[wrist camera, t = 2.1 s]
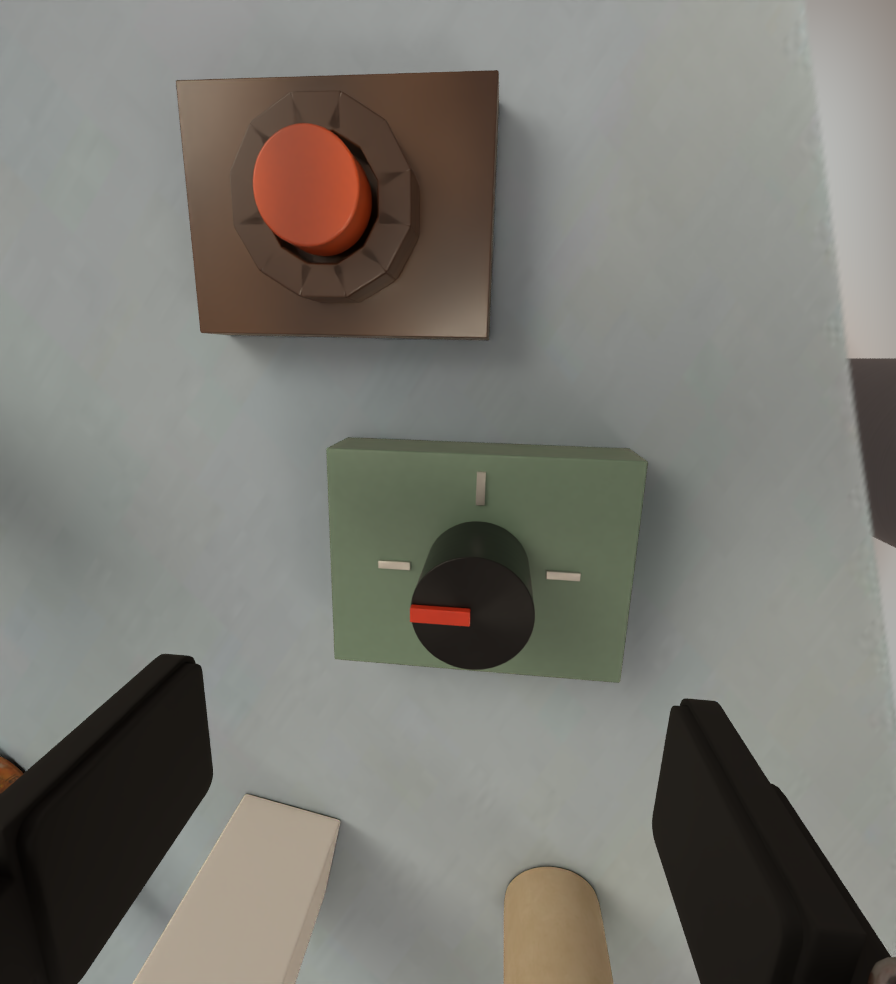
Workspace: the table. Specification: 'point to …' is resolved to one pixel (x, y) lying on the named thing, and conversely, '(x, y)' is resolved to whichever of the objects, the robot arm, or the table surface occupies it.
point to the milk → (249, 901)
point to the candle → (553, 930)
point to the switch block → (394, 217)
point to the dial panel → (498, 500)
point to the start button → (312, 190)
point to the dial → (474, 597)
